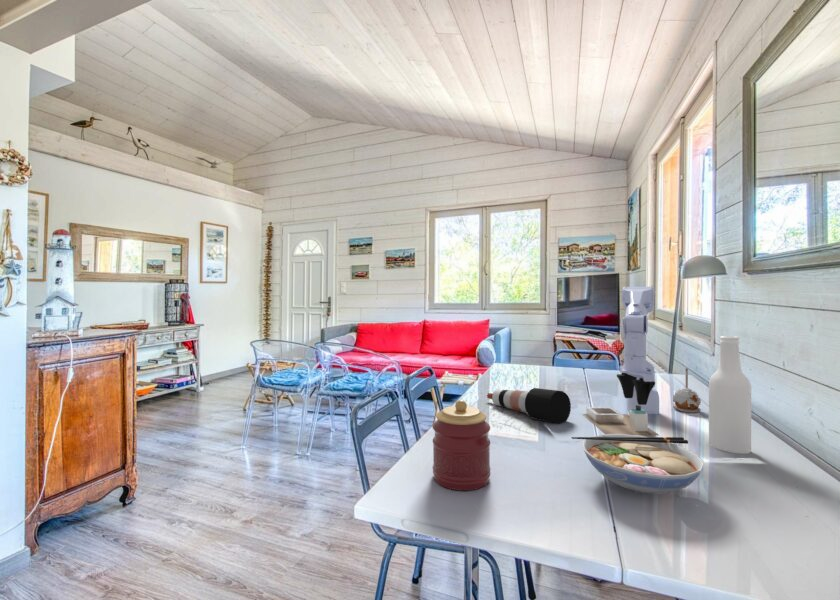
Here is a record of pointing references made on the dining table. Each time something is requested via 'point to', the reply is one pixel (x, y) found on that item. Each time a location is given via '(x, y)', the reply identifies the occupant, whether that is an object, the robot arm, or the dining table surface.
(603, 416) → the end holder
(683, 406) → the caramel apple
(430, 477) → the dining table surface
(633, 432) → the board
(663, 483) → the ramen bowl
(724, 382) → the alcohol
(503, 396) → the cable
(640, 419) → the connector plug
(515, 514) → the dining table surface
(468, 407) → the canister
